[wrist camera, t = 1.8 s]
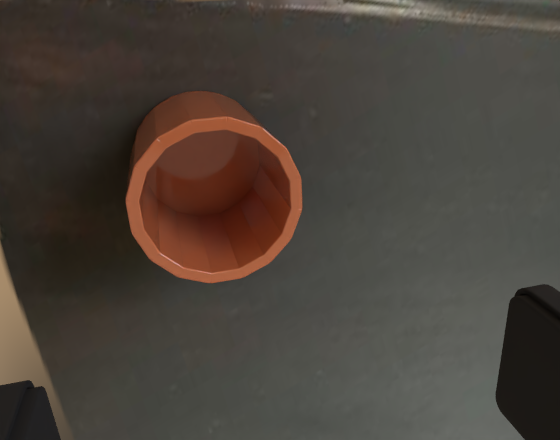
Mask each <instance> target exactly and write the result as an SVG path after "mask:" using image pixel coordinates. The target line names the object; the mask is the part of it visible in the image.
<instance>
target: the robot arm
mask: <svg viewBox="0 0 560 440" xmlns="http://www.w3.org/2000/svg"><path fill="white" fill-rule="evenodd" d="M496 402H497V405H498V407H499V409H500V411H501V412H502V414H503V415H504V416H505V417H506V418H507V419H508V421H509V422H510V423H511V424H512V425H513V426H514V428H515V429H516V430H517V431H518V432H519V433H520V434H521V436H522V437H523V438H524V439H525V440H560V292H559V291H557V290H556V289H555V288H553V287H551V286H549V285H545V284H543V285H537V286H532V287H527V288H521V289H519V290H518V291H517V292H516V293H515V297H513V298H512V299H511V300H510V303H509V309H508V316H507V322H506V329H505V336H504V342H503V349H502V355H501V362H500V369H499V375H498V382H497V389H496ZM0 440H61V439H60V436H59V433H58V429H57V426H56V422H55V419H54V416H53V413H52V410H51V406H50V403H49V400H48V397H47V393H46V391H45V388H44V387H42V386H41V387H34V385H33V383H32V382H31V381H29V380H27V381H22V382H17V383H11V384H6V385H0Z"/></svg>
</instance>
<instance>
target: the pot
mask: <svg viewBox="0 0 560 440" xmlns="http://www.w3.org/2000/svg"><path fill="white" fill-rule="evenodd" d="M125 202H126V208H127V213H128V218H129V224H130V229H131V233H132V235H133V236H134V238H135V239H136V241H137V242H138V244H139V245H140V246H141V248H142V249H143V251H144V252H145V253H146V255H147V256H148V258H149V259H150V260H151V261H152V262H154V263H156V264H157V265H159V266H160V267H162V268H164V269H165V270H167V271H169V272H170V273H172V274H173V275H175V276H177V277H179V278H184V279H189V280H194V281H200V282H205V283H216V282H222V281H228V280H234V279H240V278H242V277H245V276H247V275H249V274H251V273H252V272H254V271H256V270H258V269H260V268H262V267H263V266H265V265H267V264H269V263H270V262H271V261H272V260H273V259H274V258H275V257H276V256H277V255H278V253H279V252H280V251H281V250H282V249H283V248H284V247H285V245H286V244H287V243H288V242H289V241H290V240H291V238H292V236H293V233H294V230H295V228H296V225H297V222H298V220H299V217H300V214H301V212H302V184H301V176H300V174H299V172H298V170H297V168H296V166H295V164H294V162H293V159H292V157H291V155H290V153H289V151H288V150H287V148H286V147H285V146H284V145H283V144H282V143H281V142H280V141H279V140H278V139H277V138H276V137H275V136H274V135H273V134H272V133H271V132H270V131H269V130H268V129H267V128H266V127H265V126H264V125H262V124H261V123H260V122H259V121H258V120H257V119H256V118H255V117H254V116H253V115H252V114H251V113H250V112H248V111H247V110H246V109H245V108H244V107H243V106H241V105H240V104H239V103H238V102H237V101H235V100H233V99H231V98H229V97H226V96H224V95H221V94H218V93H214V92H208V91H191V92H184V93H181V94H177V95H174V96H172V97H170V98H168V99H166V100H164V101H163V102H161V103H160V104H158V105H157V106H156V107H155V108H153V109H152V110H151V111H150V112H149V113H148V115H147V116H146V117H145V118H144V120H143V121H142V123H141V124H140V126H139V128H138V130H137V132H136V136H135V139H134V143H133V148H132V152H131V156H130V165H129V173H128V182H127V190H126V201H125Z"/></svg>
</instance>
